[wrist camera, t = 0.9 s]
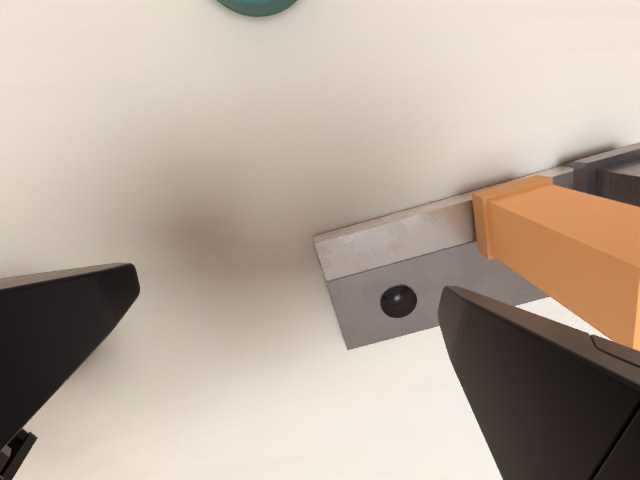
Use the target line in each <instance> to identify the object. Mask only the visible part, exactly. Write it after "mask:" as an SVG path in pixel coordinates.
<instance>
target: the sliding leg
mask: <svg viewBox="0 0 640 480" xmlns="http://www.w3.org/2000/svg"><path fill="white" fill-rule="evenodd" d="M472 201H473V210H474V219H475V228H476V237H477V246H478V252H479V253H480V254H481V255H483V256H484V257H485V258H487V259H488V260H489V259H493V258H497V259H498V260H500V261H501V262H503V263H504V264H505V265H507V266H508V267H510V268H511V269H512V270H514V271H515V272H517V273H518V274H519V275H521V276H522V277H524V278H525V279H526V280H528V281H529V282H531V283H532V284H533V285H535V286H536V287H538V288H539V289H540V290H542V291H543V292H545V293H546V294H548V295H549V296H550V297H552V298H553V299H555V300H556V301H557V302H559V303H560V304H562V305H563V306H564V307H566V308H567V309H569V310H570V311H571V312H573V313H574V314H576V315H577V316H578V317H580V318H581V319H583V320H584V321H585V322H587V323H588V324H590V325H591V326H592V327H594V328H595V329H597V330H598V331H600V332H601V333H602V334H604V335H605V336H607V337H608V338H609V339H611V340H612V341H614V342H615V343H618V344H621V345H624V346H627V347H630V348H632V349H635V350H638V351H640V207H637V206H633V205H629V204H626V203H622V202H618V201H614V200H610V199H606V198H602V197H599V196H595V195H591V194H587V193H583V192H579V191H575V190H572V189H568V188H564V187H560V186H556V185H553V178H551V177H547V176H542V175H534V176H531V177H527V178H524V179H520V180H517V181H513V182H510V183H506V184H503V185H499V186H496V187H492V188H489V189H485V190H481V191H478V192H474V193H472Z"/></svg>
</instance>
